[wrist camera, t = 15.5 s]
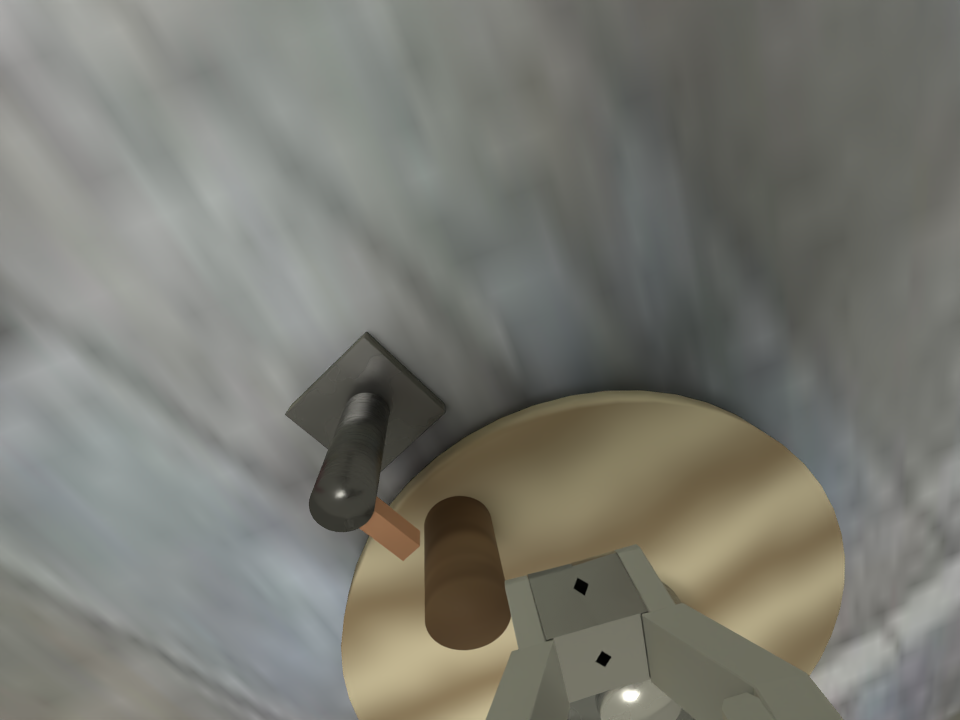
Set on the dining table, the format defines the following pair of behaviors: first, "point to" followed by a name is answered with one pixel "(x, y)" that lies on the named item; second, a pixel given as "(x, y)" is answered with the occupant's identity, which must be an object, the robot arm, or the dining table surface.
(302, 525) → the dining table surface
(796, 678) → the robot arm
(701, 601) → the turntable
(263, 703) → the dining table surface
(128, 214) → the dining table surface
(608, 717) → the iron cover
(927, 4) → the dining table surface
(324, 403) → the pointer
